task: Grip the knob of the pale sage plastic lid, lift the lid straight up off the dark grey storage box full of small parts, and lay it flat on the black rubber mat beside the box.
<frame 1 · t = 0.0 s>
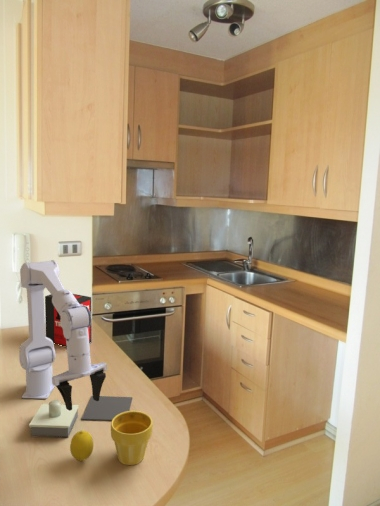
hand: (83, 404, 111), 11 cm above the countertop, tool pointing down, fingers open, 7 cm apart
storage box: (55, 426, 118), on the countertop
lemon: (81, 461, 105), on the countertop
cleaning product box: (68, 343, 177), on the countertop
mat: (108, 408, 128), on the countertop
plant pot: (131, 457, 107), on the countertop
lid: (55, 419, 118), point 2 cm above the countertop, touching storage box
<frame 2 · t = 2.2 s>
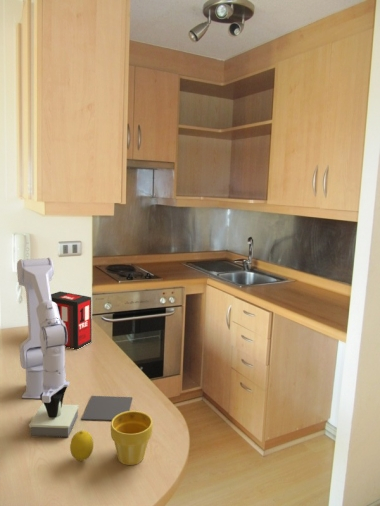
hand: (54, 413, 118), 4 cm above the countertop, tool pointing down, fingers closed on lid, 3 cm apart
lid: (55, 419, 118), point 2 cm above the countertop, touching gripper, storage box
everything else where it was.
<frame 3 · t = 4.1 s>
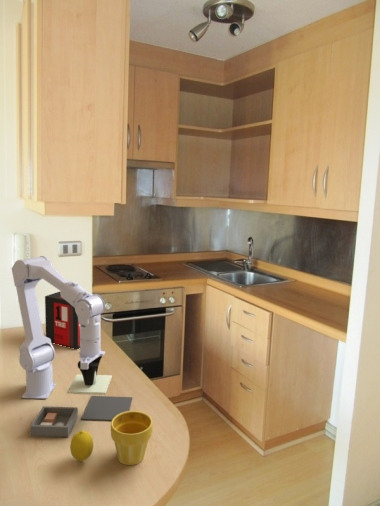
hand: (90, 381, 123), 10 cm above the countertop, tool pointing down, fingers closed on lid, 3 cm apart
lid: (90, 387, 123), point 9 cm above the countertop, touching gripper
everything else where it was.
when the fingers open (4 cm above the countertop, at t = 6.1 s): lid drops 1 cm, resting on mat.
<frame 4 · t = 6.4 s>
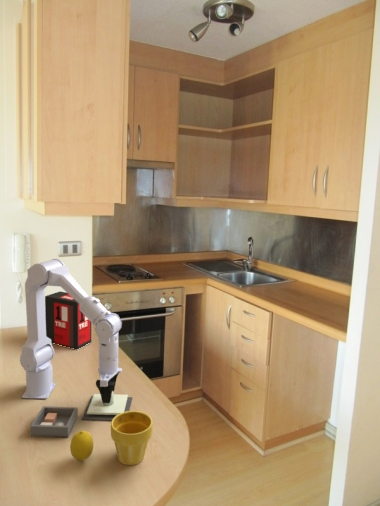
hand: (108, 397, 128), 4 cm above the countertop, tool pointing down, fingers open, 5 cm apart
lid: (108, 407, 128), resting on mat
everything else where it was.
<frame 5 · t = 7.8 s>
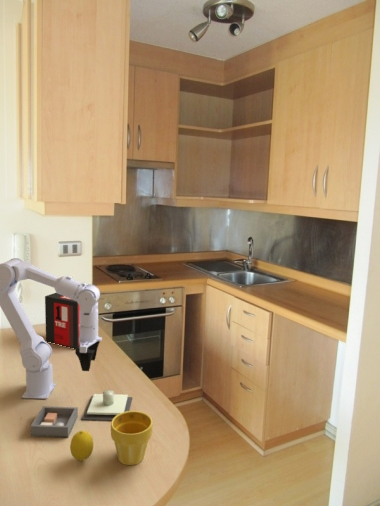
hand: (88, 365, 134), 10 cm above the countertop, tool pointing down, fingers open, 7 cm apart
nothing on the countertop moved.
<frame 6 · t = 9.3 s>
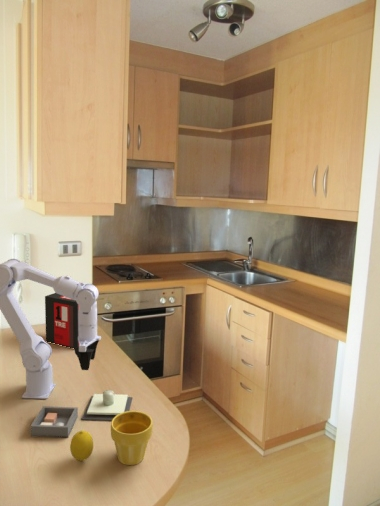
hand: (88, 364, 134), 10 cm above the countertop, tool pointing down, fingers open, 7 cm apart
nothing on the countertop moved.
at the end: lid 0.0 cm off-centre on the mat, point 0.4 cm above the mat's base; lid tilted 0°; the gripper is holding nothing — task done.
